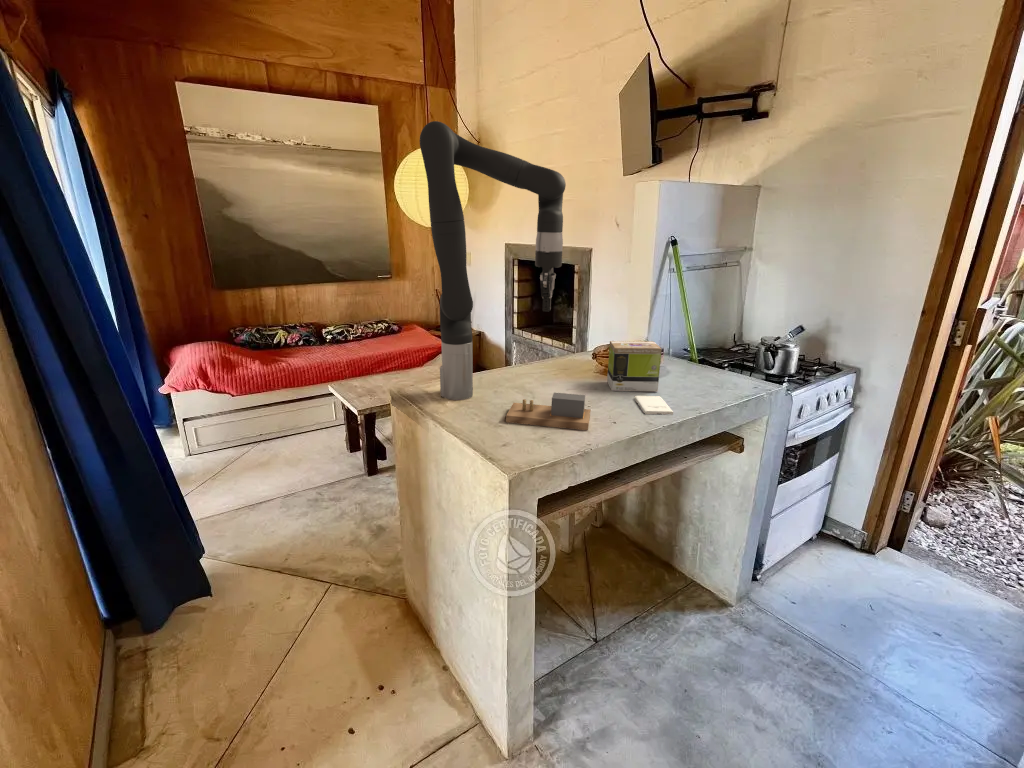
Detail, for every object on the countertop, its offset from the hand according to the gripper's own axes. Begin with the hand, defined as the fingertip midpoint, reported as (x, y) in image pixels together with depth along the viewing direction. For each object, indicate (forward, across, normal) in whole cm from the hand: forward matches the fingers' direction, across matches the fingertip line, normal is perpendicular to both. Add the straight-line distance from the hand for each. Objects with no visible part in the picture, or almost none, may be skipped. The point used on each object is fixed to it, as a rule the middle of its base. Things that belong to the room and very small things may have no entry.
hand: (546, 311), depth 143 cm
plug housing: (+25, +16, +9) cm, 31 cm away
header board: (+27, +16, +4) cm, 32 cm away
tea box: (+27, -18, +27) cm, 42 cm away
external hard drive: (+28, -1, +33) cm, 43 cm away
